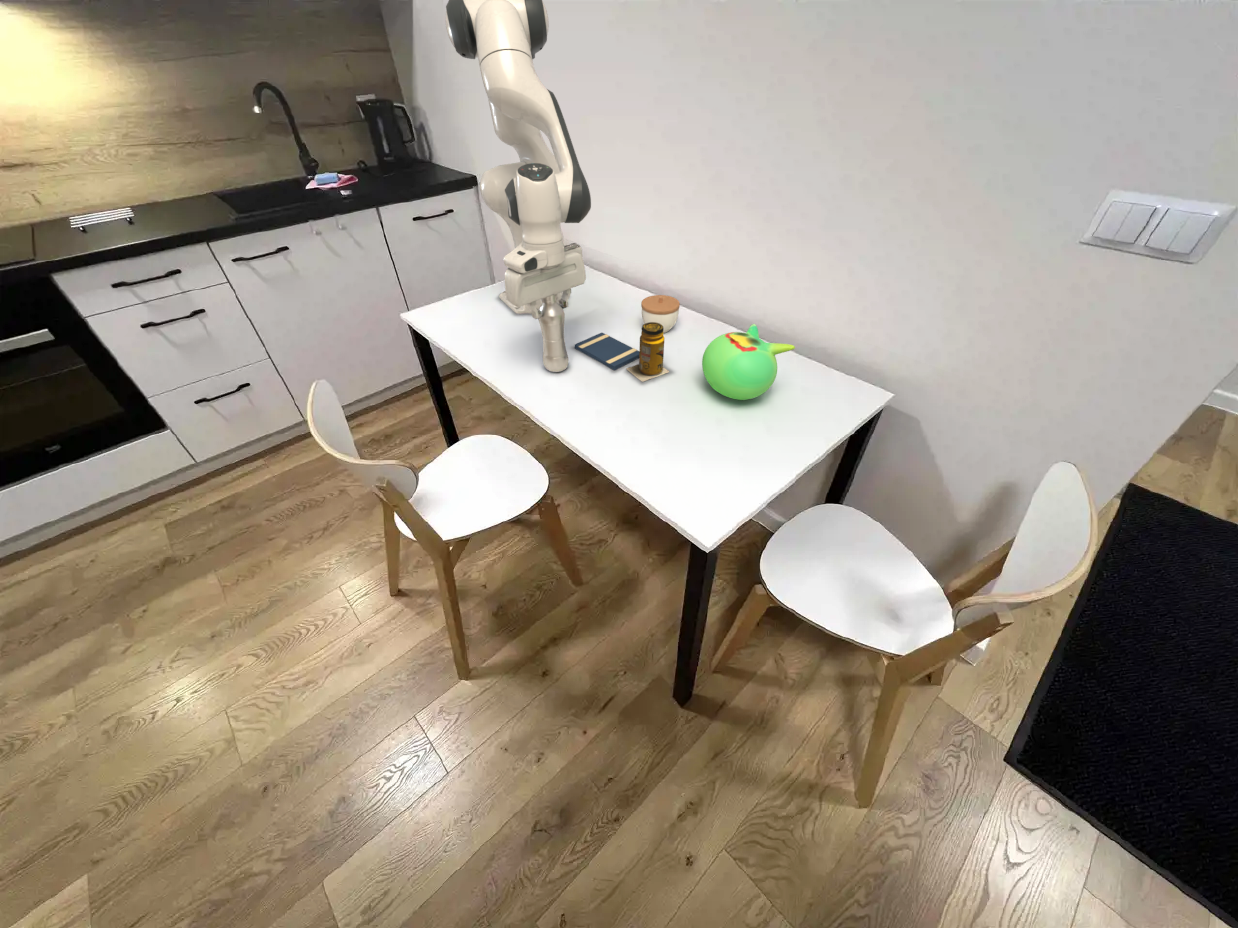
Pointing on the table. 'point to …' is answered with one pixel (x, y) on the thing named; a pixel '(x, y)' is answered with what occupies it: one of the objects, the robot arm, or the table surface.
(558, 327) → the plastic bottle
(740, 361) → the toy bird
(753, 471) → the table surface
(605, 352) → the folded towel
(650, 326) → the condiment
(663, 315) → the trinket box
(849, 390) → the table surface
